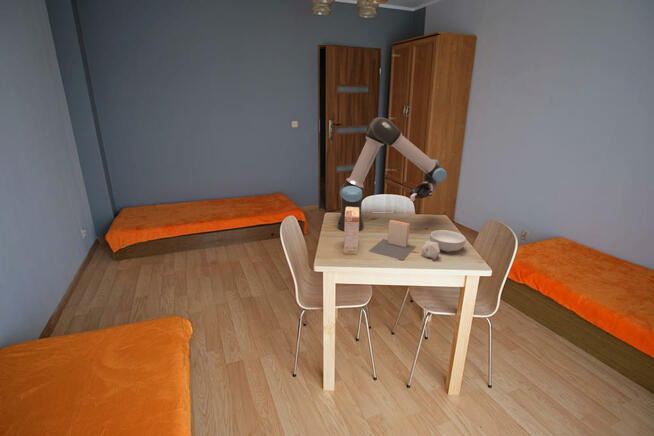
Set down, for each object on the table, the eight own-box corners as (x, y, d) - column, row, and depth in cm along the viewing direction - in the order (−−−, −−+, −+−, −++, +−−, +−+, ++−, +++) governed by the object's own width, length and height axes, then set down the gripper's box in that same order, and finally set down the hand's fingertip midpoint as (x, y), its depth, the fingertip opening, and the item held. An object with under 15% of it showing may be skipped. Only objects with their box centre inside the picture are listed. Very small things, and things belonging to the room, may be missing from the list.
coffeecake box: (344, 241, 183) (345, 206, 177) (357, 242, 182) (359, 207, 176) (343, 253, 169) (344, 215, 163) (357, 254, 168) (359, 216, 162)
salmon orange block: (387, 243, 179) (388, 221, 175) (389, 241, 182) (391, 219, 178) (405, 247, 174) (407, 225, 171) (407, 245, 177) (410, 223, 173)
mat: (368, 253, 170) (368, 251, 170) (383, 240, 185) (383, 238, 185) (403, 262, 161) (403, 260, 161) (416, 248, 176) (416, 246, 176)
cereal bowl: (437, 256, 168) (439, 243, 165) (423, 243, 183) (425, 230, 181) (470, 254, 170) (472, 241, 168) (453, 241, 186) (455, 229, 183)
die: (418, 254, 171) (417, 244, 163) (431, 244, 172) (431, 234, 165) (430, 266, 166) (430, 256, 158) (443, 255, 167) (444, 245, 160)
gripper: (435, 197, 200) (423, 207, 181) (413, 193, 206) (399, 203, 187) (436, 184, 197) (424, 193, 178) (414, 181, 204) (400, 190, 185)
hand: (411, 198), depth 183 cm, fingers closed
